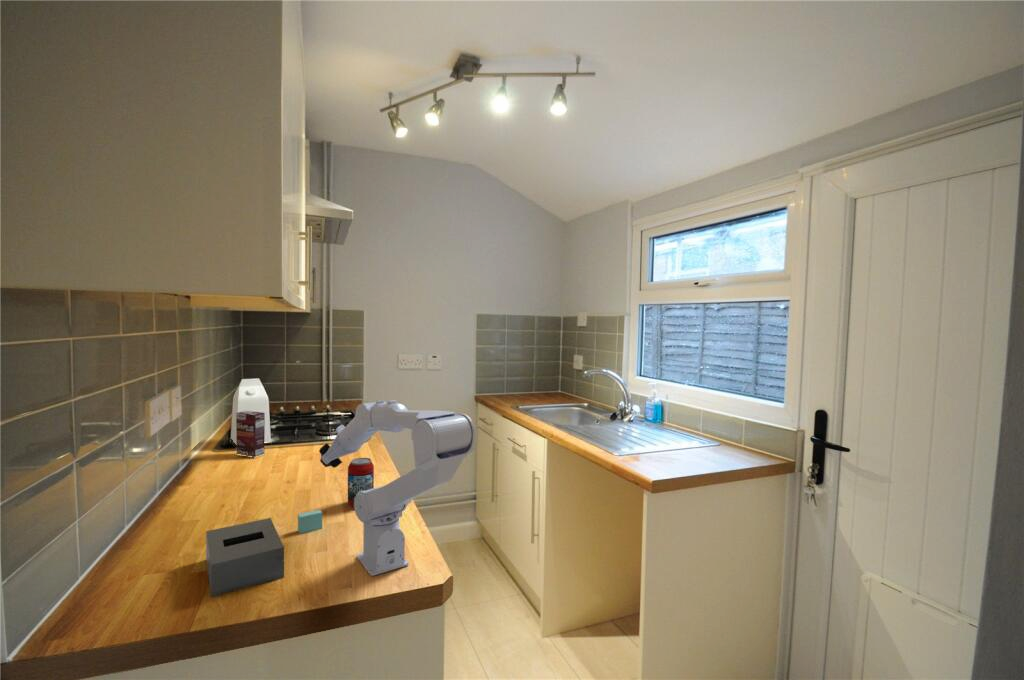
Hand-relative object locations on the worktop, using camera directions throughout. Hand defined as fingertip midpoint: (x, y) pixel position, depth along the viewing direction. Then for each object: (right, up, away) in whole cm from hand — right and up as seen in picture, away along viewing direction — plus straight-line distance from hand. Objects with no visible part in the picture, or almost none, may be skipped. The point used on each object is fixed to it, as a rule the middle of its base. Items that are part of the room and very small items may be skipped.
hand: (336, 453), depth 114 cm
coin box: (-11, -18, -20) cm, 29 cm away
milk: (-60, -14, +71) cm, 94 cm away
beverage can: (+1, -17, +14) cm, 23 cm away
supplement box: (-52, -15, +56) cm, 78 cm away
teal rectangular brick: (-5, -18, -2) cm, 19 cm away
